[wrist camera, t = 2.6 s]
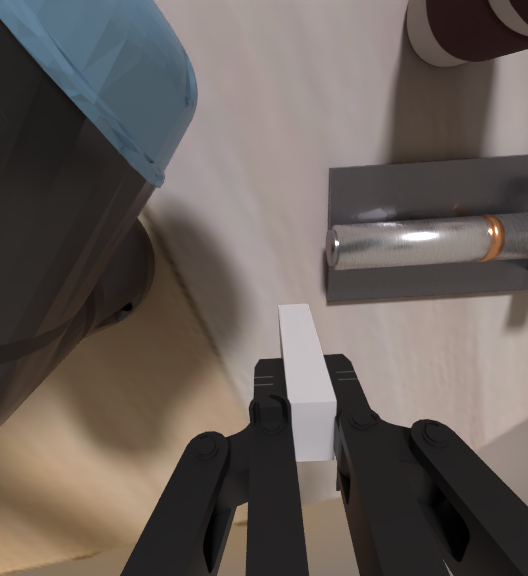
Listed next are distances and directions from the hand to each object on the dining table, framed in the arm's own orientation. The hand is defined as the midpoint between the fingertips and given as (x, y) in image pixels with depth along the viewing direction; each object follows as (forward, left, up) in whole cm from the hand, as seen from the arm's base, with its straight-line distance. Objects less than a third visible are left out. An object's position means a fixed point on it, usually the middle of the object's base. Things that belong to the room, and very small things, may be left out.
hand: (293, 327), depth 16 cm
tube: (+14, 0, -15) cm, 20 cm away
